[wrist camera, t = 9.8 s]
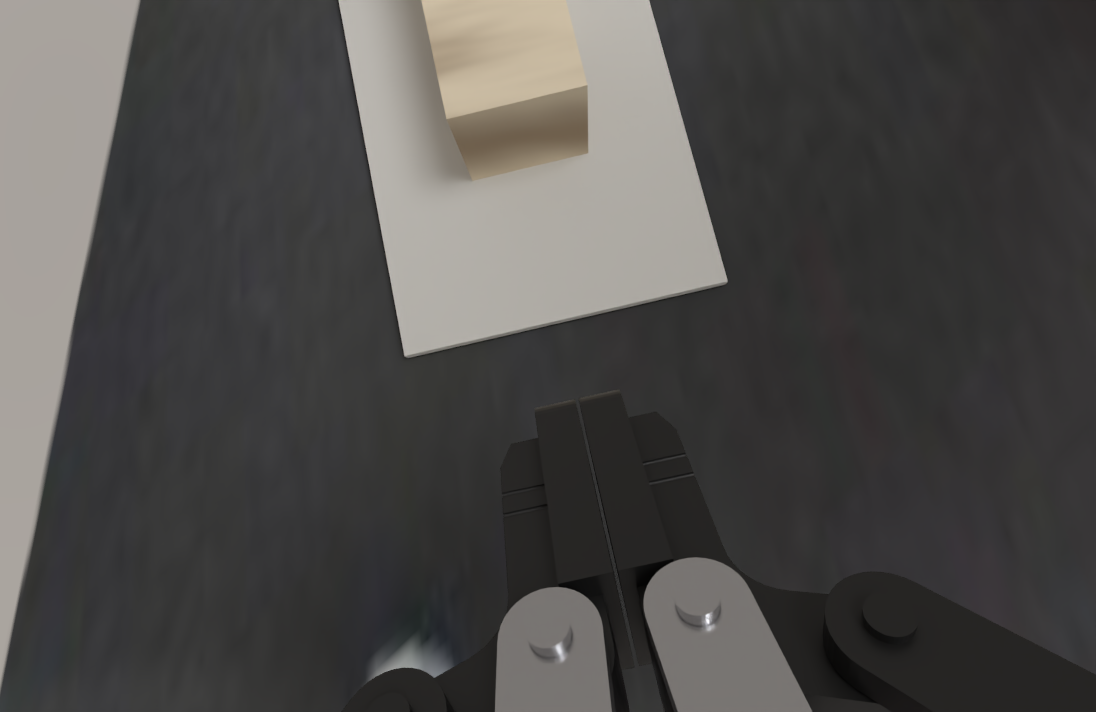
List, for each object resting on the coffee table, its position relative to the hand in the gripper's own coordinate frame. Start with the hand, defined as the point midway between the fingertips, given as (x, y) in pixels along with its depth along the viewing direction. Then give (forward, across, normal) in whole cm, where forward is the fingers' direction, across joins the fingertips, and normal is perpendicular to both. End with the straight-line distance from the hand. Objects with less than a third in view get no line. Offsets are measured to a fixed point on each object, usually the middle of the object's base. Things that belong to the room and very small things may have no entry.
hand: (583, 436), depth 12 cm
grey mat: (+27, 0, +1) cm, 27 cm away
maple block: (+22, 0, +1) cm, 22 cm away
